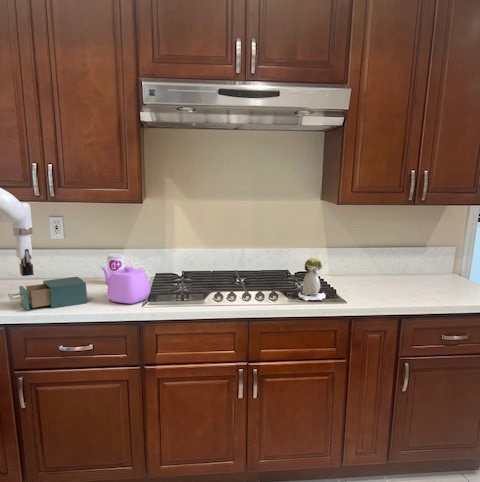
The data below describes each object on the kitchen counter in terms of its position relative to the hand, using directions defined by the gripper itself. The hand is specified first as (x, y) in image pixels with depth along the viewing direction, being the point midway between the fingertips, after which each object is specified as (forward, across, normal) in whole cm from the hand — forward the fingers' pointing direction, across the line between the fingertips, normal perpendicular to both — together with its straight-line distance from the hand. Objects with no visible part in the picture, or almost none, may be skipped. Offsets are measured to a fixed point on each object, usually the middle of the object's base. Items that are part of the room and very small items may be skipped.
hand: (26, 273), depth 201 cm
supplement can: (+11, -4, +42) cm, 43 cm away
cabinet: (+11, +13, +12) cm, 21 cm away
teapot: (+11, +23, +36) cm, 45 cm away
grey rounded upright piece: (+11, +63, +109) cm, 127 cm away
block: (0, 0, 0) cm, 0 cm away
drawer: (+11, +13, 0) cm, 17 cm away
